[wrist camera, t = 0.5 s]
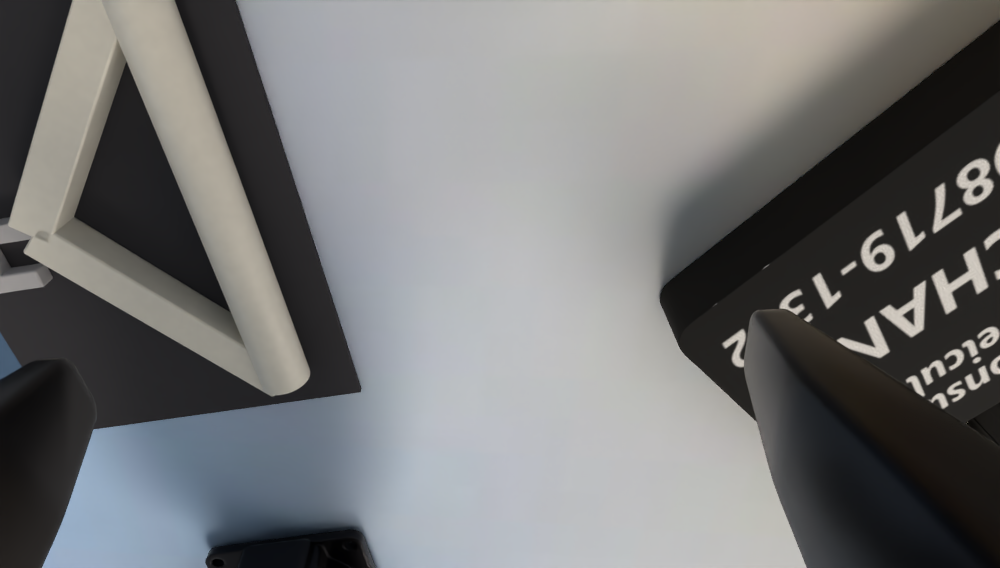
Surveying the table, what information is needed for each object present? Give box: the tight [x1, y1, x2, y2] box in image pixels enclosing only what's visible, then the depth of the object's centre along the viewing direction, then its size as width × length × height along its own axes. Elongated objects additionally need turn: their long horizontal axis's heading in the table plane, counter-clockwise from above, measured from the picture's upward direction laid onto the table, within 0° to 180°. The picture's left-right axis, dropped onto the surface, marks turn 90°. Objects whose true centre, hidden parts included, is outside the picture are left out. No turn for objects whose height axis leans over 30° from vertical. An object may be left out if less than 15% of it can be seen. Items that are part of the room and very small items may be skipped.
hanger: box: [0, 0, 310, 397], centre depth 20 cm, size 14×9×2 cm, turn 9°
